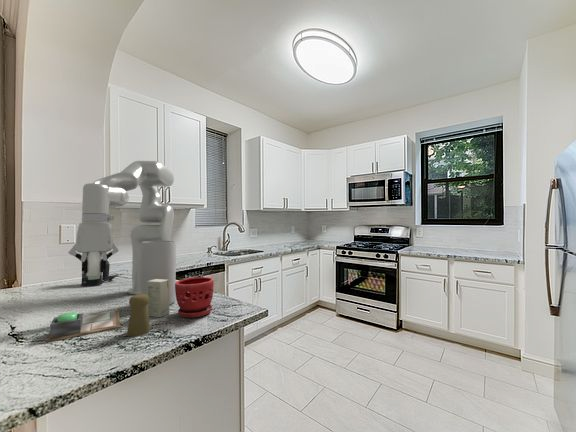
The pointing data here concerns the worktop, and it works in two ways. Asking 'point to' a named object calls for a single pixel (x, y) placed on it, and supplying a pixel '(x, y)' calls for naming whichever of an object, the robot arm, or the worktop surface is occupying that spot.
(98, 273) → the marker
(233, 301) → the worktop surface
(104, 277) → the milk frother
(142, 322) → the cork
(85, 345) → the worktop surface
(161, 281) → the skincare box
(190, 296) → the plant pot
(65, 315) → the button
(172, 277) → the cylinder vase
